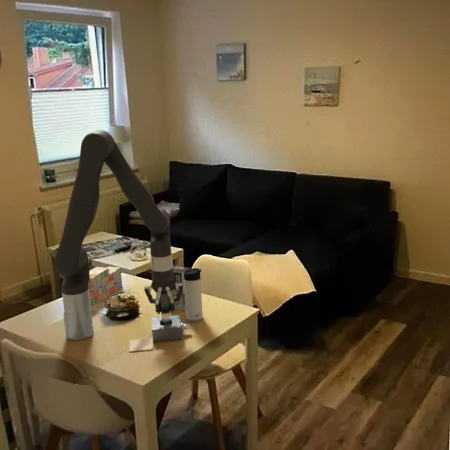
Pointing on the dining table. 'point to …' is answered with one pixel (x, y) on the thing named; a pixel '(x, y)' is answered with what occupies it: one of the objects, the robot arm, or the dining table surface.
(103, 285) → the stack of blocks
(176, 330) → the block
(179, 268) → the coffee box
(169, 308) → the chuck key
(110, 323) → the dining table surface
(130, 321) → the dining table surface
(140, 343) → the cork mat
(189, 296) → the travel mug
